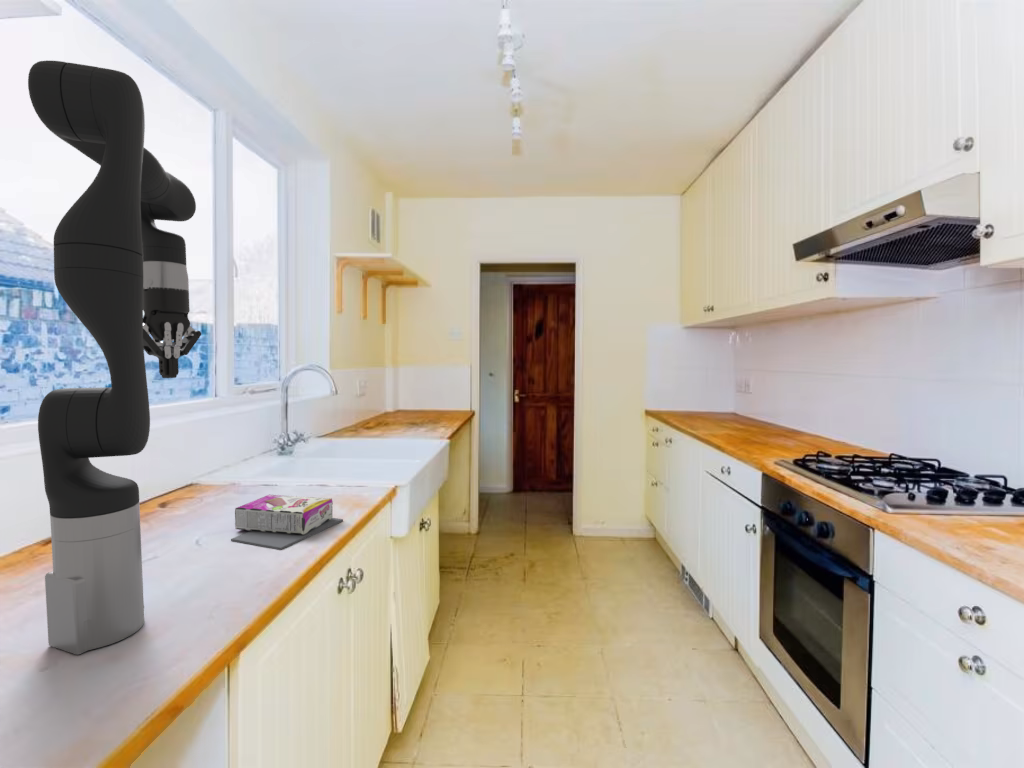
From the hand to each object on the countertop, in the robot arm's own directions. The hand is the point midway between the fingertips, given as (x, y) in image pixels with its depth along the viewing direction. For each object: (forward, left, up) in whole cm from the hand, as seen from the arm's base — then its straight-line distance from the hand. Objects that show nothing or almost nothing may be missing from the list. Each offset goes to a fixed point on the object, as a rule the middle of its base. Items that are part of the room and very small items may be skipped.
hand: (169, 377), depth 99 cm
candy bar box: (+14, -4, -30) cm, 34 cm away
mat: (+14, -15, -33) cm, 39 cm away
